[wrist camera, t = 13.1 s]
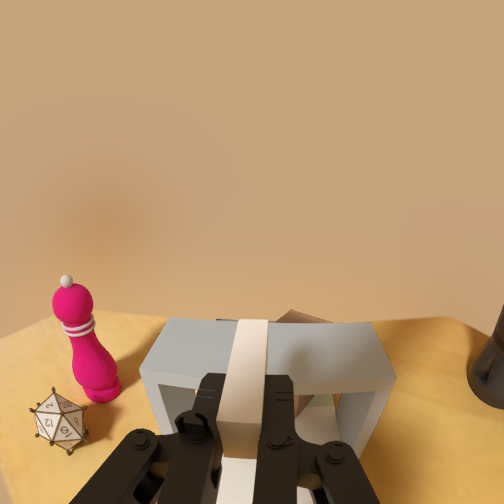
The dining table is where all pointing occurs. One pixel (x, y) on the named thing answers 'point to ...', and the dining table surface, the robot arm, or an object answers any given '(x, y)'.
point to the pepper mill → (85, 342)
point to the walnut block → (298, 317)
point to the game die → (60, 421)
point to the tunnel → (279, 363)
